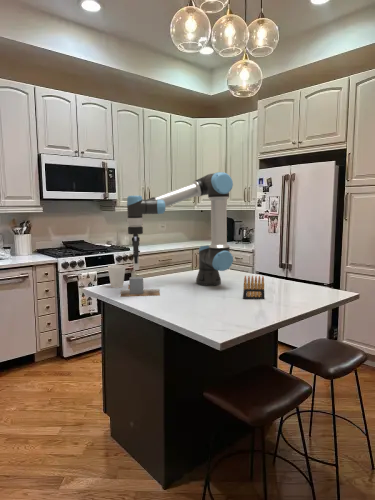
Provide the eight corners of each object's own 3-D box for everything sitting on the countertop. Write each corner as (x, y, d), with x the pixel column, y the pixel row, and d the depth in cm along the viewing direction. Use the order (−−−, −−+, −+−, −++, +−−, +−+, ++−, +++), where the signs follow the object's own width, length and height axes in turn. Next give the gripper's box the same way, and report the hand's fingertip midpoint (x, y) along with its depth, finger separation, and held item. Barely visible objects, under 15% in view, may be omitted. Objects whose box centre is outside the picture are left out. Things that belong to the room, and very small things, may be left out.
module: (143, 291, 188) (143, 276, 187) (143, 293, 184) (143, 278, 183) (128, 292, 187) (128, 277, 186) (128, 294, 183) (128, 279, 182)
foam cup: (113, 291, 195) (112, 268, 193) (105, 288, 202) (105, 266, 200) (128, 289, 201) (128, 266, 199) (120, 286, 208) (120, 264, 206)
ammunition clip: (263, 298, 182) (264, 275, 180) (264, 299, 180) (265, 275, 178) (242, 298, 182) (243, 275, 180) (243, 299, 180) (243, 275, 179)
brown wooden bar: (159, 291, 189) (159, 289, 188) (159, 292, 186) (159, 290, 186) (121, 293, 186) (121, 290, 186) (120, 294, 184) (120, 291, 183)
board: (158, 292, 194) (158, 289, 194) (160, 298, 181) (160, 295, 181) (121, 293, 191) (121, 290, 191) (120, 299, 179) (120, 296, 178)
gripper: (128, 224, 193) (129, 263, 196) (126, 228, 169) (128, 272, 171) (142, 224, 194) (143, 263, 197) (142, 227, 170) (144, 271, 172)
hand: (136, 267), depth 184 cm, fingers open, 13 cm apart
